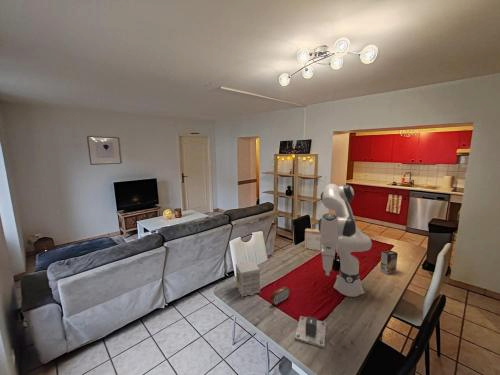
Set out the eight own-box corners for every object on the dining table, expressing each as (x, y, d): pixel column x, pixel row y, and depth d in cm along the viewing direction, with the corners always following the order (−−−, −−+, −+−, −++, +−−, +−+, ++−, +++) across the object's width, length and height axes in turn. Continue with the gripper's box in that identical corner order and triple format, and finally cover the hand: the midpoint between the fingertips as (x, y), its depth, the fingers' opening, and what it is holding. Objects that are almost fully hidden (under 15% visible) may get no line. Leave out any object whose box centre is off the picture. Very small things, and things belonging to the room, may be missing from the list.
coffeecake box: (321, 248, 216) (321, 229, 213) (320, 251, 209) (321, 231, 206) (305, 246, 222) (306, 227, 219) (304, 249, 215) (304, 230, 213)
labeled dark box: (307, 324, 118) (307, 315, 118) (316, 327, 117) (316, 317, 116) (305, 331, 114) (305, 321, 113) (315, 334, 112) (315, 324, 111)
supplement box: (236, 286, 156) (235, 263, 154) (253, 282, 161) (253, 260, 158) (241, 298, 144) (241, 272, 142) (260, 293, 148) (260, 268, 146)
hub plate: (300, 317, 125) (300, 311, 125) (326, 324, 120) (326, 317, 119) (294, 339, 111) (294, 332, 110) (324, 348, 105) (324, 340, 105)
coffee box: (387, 275, 167) (388, 254, 165) (379, 270, 173) (381, 251, 171) (396, 272, 170) (397, 253, 167) (388, 268, 176) (390, 249, 173)
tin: (287, 295, 145) (287, 283, 144) (290, 298, 143) (290, 285, 142) (270, 305, 137) (269, 292, 135) (273, 308, 134) (273, 295, 133)
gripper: (323, 237, 125) (323, 260, 127) (320, 252, 106) (320, 279, 108) (335, 238, 123) (335, 262, 125) (334, 254, 104) (333, 281, 106)
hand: (328, 270), depth 116 cm, fingers open, 8 cm apart
